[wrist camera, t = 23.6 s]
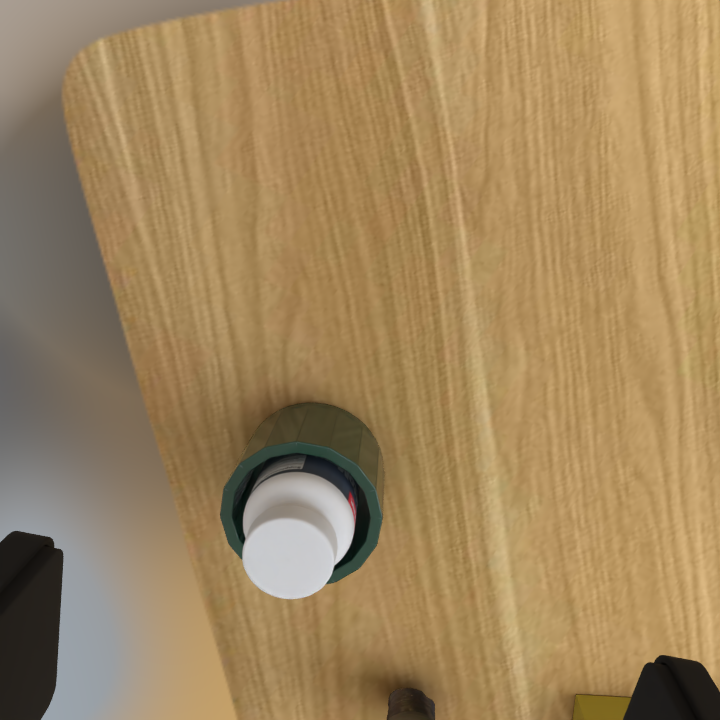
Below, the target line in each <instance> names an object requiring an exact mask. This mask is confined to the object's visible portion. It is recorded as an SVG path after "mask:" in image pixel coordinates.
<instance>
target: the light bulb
mask: <svg viewBox="0 0 720 720" xmlns="http://www.w3.org/2000/svg"><path fill="white" fill-rule="evenodd" d="M388 706H389V710H388V715H387V720H435V704H434V702H433V701H432V700H431V699H429V698H428V697H426V696H425V694H424V693H423V692H422V691H419V690H416V689H412V688H402V689H397V690H395V691H393V692H392V693H391V695H390V697H389V701H388Z"/></svg>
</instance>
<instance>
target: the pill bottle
mask: <svg viewBox="0 0 720 720" xmlns="http://www.w3.org/2000/svg"><path fill="white" fill-rule="evenodd" d="M359 489H360V486H359V485H358V484H357V482H356V481H355V480H354V479H353V477H352V476H351V475H350V473H349V472H348V471H346V470H344V469H343V468H341V467H339V466H338V465H336V464H334V463H333V462H331V461H329V460H328V459H326V458H323V457H317V456H312V455H306V454H301V453H293V454H288V455H282V456H277V457H271V458H269V459H268V460H266V462H265V464H264V466H263V468H262V470H261V472H260V474H259V476H258V478H257V480H256V483H255V485H254V487H253V489H252V492H251V494H250V496H249V498H248V500H247V503H246V506H245V510H244V515H243V530H244V535H245V538H246V539H245V542H244V546H243V551H242V561H243V565H244V568H245V571H246V573H247V575H248V577H249V578H250V579H251V581H252V582H253V583H254V584H255V585H256V586H257V587H258V588H259V589H261V590H262V591H264V592H266V593H268V594H270V595H272V596H275V597H278V598H283V599H299V598H303V597H306V596H310V595H312V594H313V593H315V592H317V591H319V590H320V589H321V588H322V587H323V586H324V585H325V584H326V583H327V581H328V580H329V579H330V576H331V575H332V572H333V569H334V565H336V564H337V563H338V562H339V561H340V560H341V559H342V558H343V557H344V555H345V554H346V552H347V551H348V549H349V547H350V545H351V542H352V539H353V535H354V529H355V522H356V512H357V505H358V496H359Z"/></svg>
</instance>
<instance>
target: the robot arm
mask: <svg viewBox="0 0 720 720" xmlns="http://www.w3.org/2000/svg"><path fill="white" fill-rule="evenodd" d="M62 573H63V552H62V550H61V549H57V548H54V542H53V539H52V538H50V537H45V536H40V535H36V534H30V533H25V532H20V531H14V532H11V533H10V534H9V535H7V536H6V537H5V538H4V539H3V540H2V541H1V542H0V720H41V718H42V717H43V715H44V713H45V712H46V710H47V708H48V707H49V705H50V702H51V700H52V697H53V694H54V691H55V687H56V677H57V659H58V643H59V624H60V607H61V590H62ZM623 720H720V692H719V690H718V688H717V687H716V685H715V683H714V682H713V680H712V678H711V677H710V675H709V673H708V672H707V670H706V669H705V667H704V666H703V665H702V664H701V663H699V662H697V661H692V660H687V659H682V658H677V657H671V656H666V655H661V656H659V657H658V658H656V660H655V662H654V663H651V662H650V663H647V664H646V665H645V666H644V668H643V670H642V672H641V675H640V677H639V680H638V682H637V685H636V687H635V690H634V693H633V695H632V698H631V700H630V703H629V705H628V708H627V710H626V713H625V715H624V718H623Z"/></svg>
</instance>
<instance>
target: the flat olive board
mask: <svg viewBox="0 0 720 720" xmlns="http://www.w3.org/2000/svg"><path fill="white" fill-rule="evenodd" d="M630 700H631V698H629V697H611V696H593V695H576V698H575V705H574V712H573V720H623V718H624V715H625V713H626V710H627V708H628V705H629V703H630Z"/></svg>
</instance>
